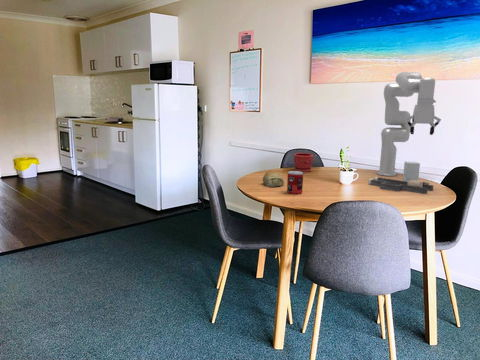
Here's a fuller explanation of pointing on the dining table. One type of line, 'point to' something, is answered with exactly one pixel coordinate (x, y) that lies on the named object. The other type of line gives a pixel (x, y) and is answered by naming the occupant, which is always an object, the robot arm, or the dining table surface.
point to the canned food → (295, 182)
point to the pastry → (273, 179)
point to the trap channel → (399, 185)
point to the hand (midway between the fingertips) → (421, 134)
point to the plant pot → (303, 162)
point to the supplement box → (411, 171)
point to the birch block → (415, 183)
